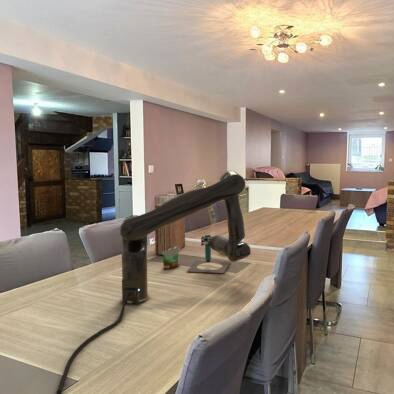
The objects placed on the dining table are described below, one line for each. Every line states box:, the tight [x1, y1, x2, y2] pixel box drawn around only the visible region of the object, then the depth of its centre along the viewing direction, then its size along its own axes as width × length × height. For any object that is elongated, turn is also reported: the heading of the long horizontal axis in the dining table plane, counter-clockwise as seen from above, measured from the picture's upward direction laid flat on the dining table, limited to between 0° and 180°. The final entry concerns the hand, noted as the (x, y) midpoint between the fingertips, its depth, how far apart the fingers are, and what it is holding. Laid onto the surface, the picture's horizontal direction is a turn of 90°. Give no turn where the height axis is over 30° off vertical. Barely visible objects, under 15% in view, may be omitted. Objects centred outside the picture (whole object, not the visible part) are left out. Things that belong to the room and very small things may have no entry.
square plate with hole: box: [187, 260, 231, 275], centre depth 175 cm, size 18×18×1 cm
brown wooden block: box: [154, 200, 186, 256], centre depth 207 cm, size 25×9×30 cm, turn 174°
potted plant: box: [161, 245, 181, 270], centre depth 175 cm, size 12×6×10 cm, turn 168°
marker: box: [204, 234, 212, 262], centre depth 174 cm, size 3×3×14 cm
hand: (205, 237), depth 175 cm, fingers closed on marker, 2 cm apart
